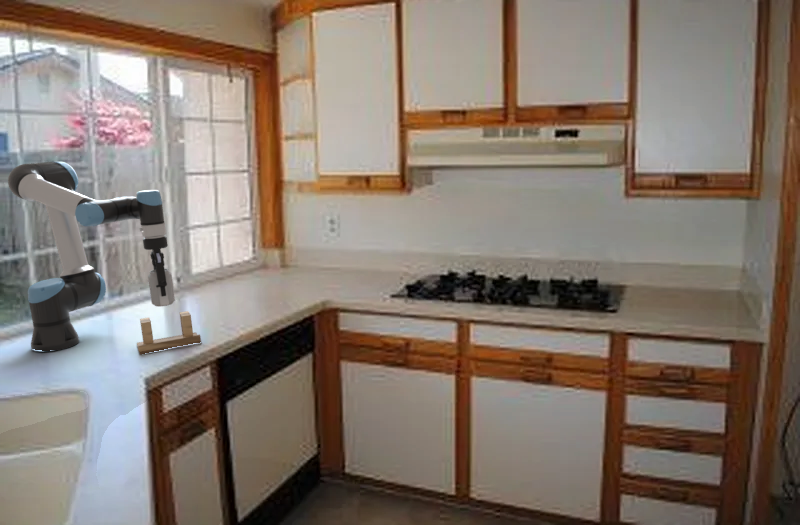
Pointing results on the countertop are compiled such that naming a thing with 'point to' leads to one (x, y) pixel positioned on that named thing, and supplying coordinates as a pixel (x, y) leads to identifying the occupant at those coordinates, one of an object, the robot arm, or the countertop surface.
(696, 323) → the countertop surface
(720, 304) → the countertop surface
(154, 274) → the can
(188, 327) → the wooden u-shaped stand
